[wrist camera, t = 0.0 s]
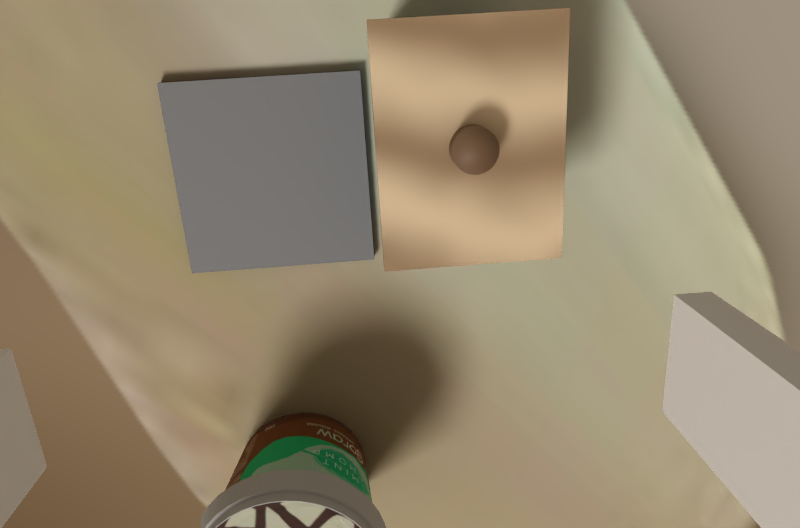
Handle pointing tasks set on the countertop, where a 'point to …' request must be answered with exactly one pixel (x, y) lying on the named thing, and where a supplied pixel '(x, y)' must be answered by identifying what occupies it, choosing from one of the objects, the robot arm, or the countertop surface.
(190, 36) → the countertop surface
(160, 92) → the mat
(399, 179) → the lid
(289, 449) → the food container
